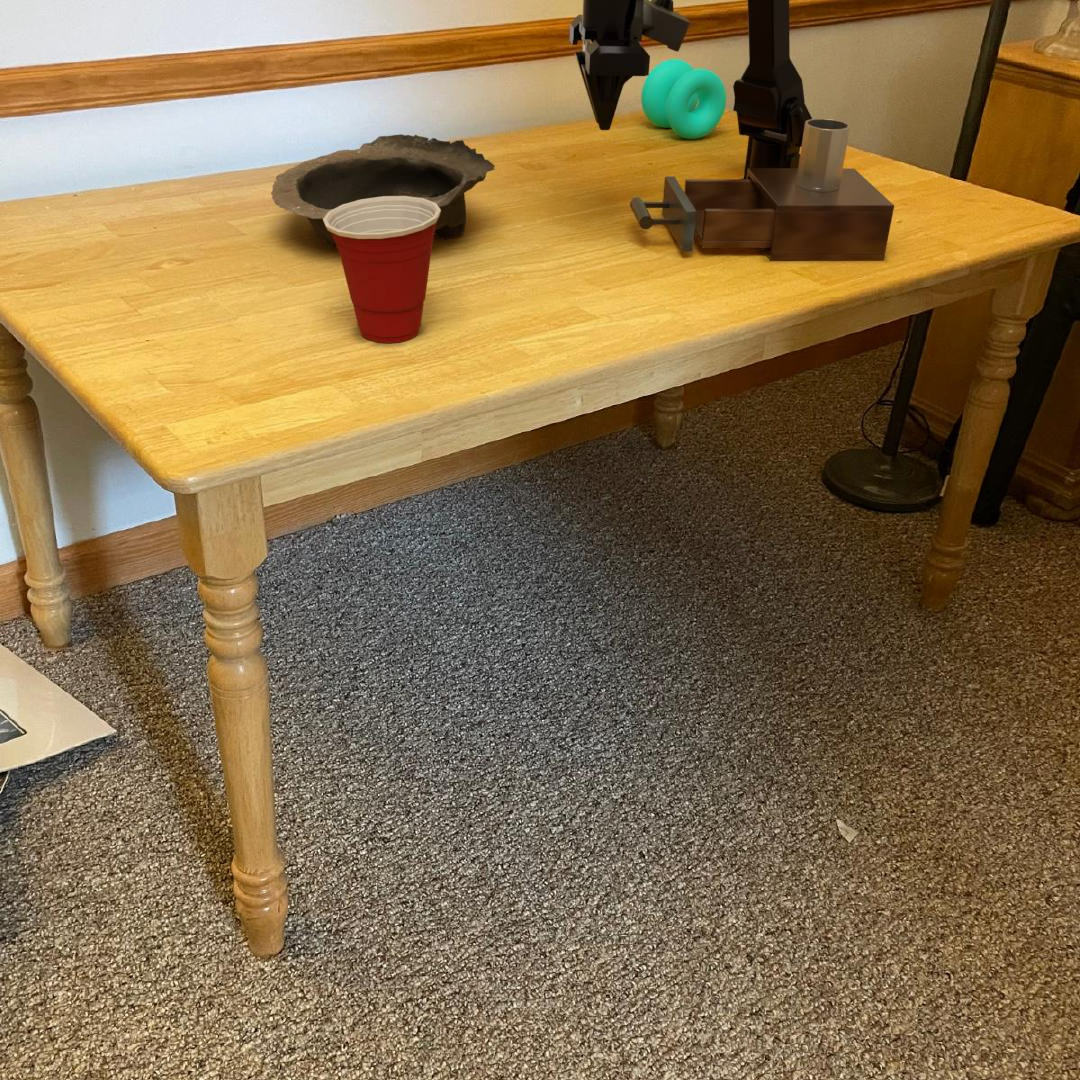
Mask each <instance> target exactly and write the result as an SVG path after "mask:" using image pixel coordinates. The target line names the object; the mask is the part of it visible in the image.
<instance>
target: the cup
mask: <svg viewBox="0 0 1080 1080" xmlns="http://www.w3.org/2000/svg"><path fill="white" fill-rule="evenodd" d="M850 128H851V124H850V123H848V122H845V121H843V120H838V119H832V118H824V117H823V118H812V119H810V120H807V121H806V122H805V127H804V133H803V140H802V147H800V153H799V154H800V160H799V167H798V173H797V180H796V185H797V186H798V187H800V188H802V189H805V190H809V191H815V192H832V191H836V190H838V189H839V188H840V182H841V176H842V170H843V169H844V164H845V158H846V153H847V147H848V140H849V134H850Z"/></svg>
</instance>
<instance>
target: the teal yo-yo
mask: <svg viewBox="0 0 1080 1080" xmlns="http://www.w3.org/2000/svg"><path fill="white" fill-rule="evenodd" d="M640 95H641V96H640V97H641V101H640V102H641V108H642V111H643V114H644V115H645V117H646V118H647V120H648V121H649V122H651V123H652V124H653V125H655V126H657V127H659V128H665V129H668V128H669V129H672V131H673V132H674V133H675V134H677V136H679V137H681V138H683V139H687V140H697V139H700V138H703V137H705V136H707V135H709V134H710V133H711V132H712V131H713V130H714V129H715V128H716V127H717V126H718V125H719V123H720V122H721V119H722V118H723V115H724V113H725V110H726V105H727V92H726V88H725V85H724V82H723V81H722V79H721V78H720V77H719V76H718V75H717V73H715V72H713V71H712V70H711V69H707V68H694V67H693V66H692V65H691V64H690V63H689V62H686V61H685V60H682V59H679V58H669V59H666V60H664V61H662V62H660V63H658V64H657V65H655V66H654V67H653V68H652V69H651V71H649V75H647V76H646V78H645V80H644V82H643V85H642V89H641V94H640Z"/></svg>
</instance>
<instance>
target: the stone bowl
mask: <svg viewBox="0 0 1080 1080" xmlns="http://www.w3.org/2000/svg"><path fill="white" fill-rule="evenodd" d="M495 167H496V166H495V164H493V163H492V162H491V161H490V160H489V159H486V158H485V156H484V154H483V153H477V148H470V146H468V145H466V144H465V142H464V140H463V139H460V140H455V141H453V142H451V141H446V140H439V139H437V138H435V137H432V138H429V137H426V136H420V135H417V134H414V135H410V134H391V135H380V136H378V137H377V138H376V139H374V140H373V141H371V142H366V143H362V144H361V146H360V147H359V148H357V149H339V150H337V151H334V152H331V153H329V154H325V155H320V156H318V157H314V158H312V159H307V160H304V161H301V162H300V163H299V164H297V165H294V166H293V167H290V168H288V169H286V170H285V171H284V172H282V173H279V174H277V175H276V177H275V181H273V182H274V183H273V184H272V190H271V192H270V195H271V196H272V197H271V198H272V201H273V203H274V204H275V205H276V206H277V207H279V208H281V209H283V210H284V211H289V213H293V214H296V215H298V216H303V217H305V218H306V219H307V220H308V222H309V223H310V225H311V227H312V228H313V230H314V231H315V233H316V235H317V236H318V237H319V238H320V240H322V241H323V242H324V243H325V244H327V245H330V246H333V245H336V243H335V240H334V238H333V236H332V234H331V232H330V231H328V230H327V228H326V226H325V223H324V221H323V218H324V217H325V216H326V214H327V213H328V212H329V211H331V210H333V209H335V208H337V207H339V206H341V205H343V204H347V203H350V202H354V201H357V200H361V199H368V198H375V197H382V196H409V197H417V198H424V199H426V200H429V201H432V202H434V203H436V204H437V205H438V207H439V208H440V210H441V212H440V216H439V218H438V220H437V223H436V226H435V233H434V236H437V237H438V238H440V239H442V240H443V241H447V240H456V239H459V238H461V237H463V236H464V233H465V231H466V225H467V208H466V207H467V206H466V198H465V196H466V195H465V194H466V193H467V192H469V191H470V190H472V189H473V188H474V187H475V186H476V185H477V184H478V183H480V182H483V181H485V179H486V177H487V173H488V172H492V171H494V170H495Z"/></svg>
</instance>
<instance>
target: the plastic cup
mask: <svg viewBox="0 0 1080 1080" xmlns="http://www.w3.org/2000/svg"><path fill="white" fill-rule="evenodd" d="M440 212H441V210H440V208H439V207H438V205H437V204H436V203H434V202H432V201H429V200H426V199H424V198H417V197H409V196H382V197H375V198H368V199H361V200H357V201H354V202H350V203H347V204H343V205H341V206H339V207H337V208H335V209H333V210H331V211H329V212H328V213H327V214H326V216H325V217H324V218H323V221H324V223H325V226H326V228H327V230H328V231H330V232H331V234H332V236H333V238H334V240H335V246H336V248H337V250H338V253H339V256H340V257H339V258H340V260H341V265H342V269H343V274H344V277H345V281H346V285H347V289H348V293H349V296H350V300H351V303H352V306H353V310H354V314H355V318H356V323H357V327H358V330H359V332H360V334H361V336H362V337H363V338H365V339H366V340H368V341H372V342H376V343H381V344H382V343H385V344H395V343H402V342H405V341H409V340H411V339H413V338H415V337H417V336H418V333H419V332H420V327H421V325H422V320H423V319H422V318H423V311H424V304H425V302H424V301H425V300H426V296H427V288H428V280H429V274H430V273H429V272H430V264H431V256H432V249H433V245H434V238H435V234H434V233H435V226H436V223H437V220H438V218H439V216H440Z"/></svg>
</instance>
